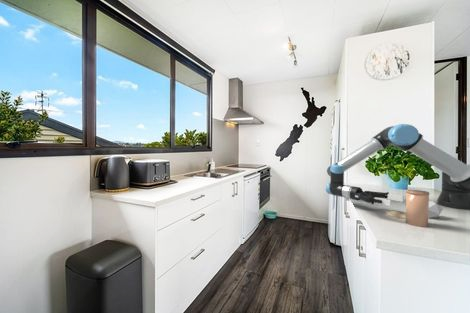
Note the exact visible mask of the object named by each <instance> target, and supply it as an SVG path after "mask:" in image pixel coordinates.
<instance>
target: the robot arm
mask: <svg viewBox="0 0 470 313" xmlns="http://www.w3.org/2000/svg"><path fill="white" fill-rule="evenodd" d="M392 146H395V147H396V148H398V149H400V150H401V151H403V152H410V153H412V154H414V155H415V156H416V157H418V158H420V159H421V160H423V161H424V162H427V163H428V164H430V165H431V166H433V167H435V168H436V169H438V170H440V172H441V191H440V194H439V196H438V197H437V200H436V204H437V205H439V206H444V207H448V208H453V209H458V210H459V209H460V210H461V209H462V210H470V164H466V163H465V162H462V161H461V160H460V159H458V158H456V157H454V156H452V155H451V154H449V153H447V152H446V151H445V150H442V149H440V148H439V147H437V146H436V145H434V144H433V143H431V142H429V141H427V140H425V139H424V136H423V134H421V133H419V129H417V127H415V126H414V125H412V124H407V123H402V124H401V123H399V124H397V125H391V126H388V127H386V128H385V129H383V130H381V131H380V132H379V133H378V132H377V134H375V135H374V136H372V137H371V138H370V140H369V141H368V142H367V143H365V144H364V145H362V146H360V147H359V148H357V149H356V150H354V151H353V152H351V153H350V154H348V155H346V156H345V157H343V158H341V159H339V161H337V162H335V163H334V164H331V165H329V166H328V167H327V169H326V172H327V175H328V176H329V178H330V182H328V183H326V186H325V191H326V193H327V194H328V195H332V196H335V197H336V196H337V197H341V198H346V199H347V200H349V199H351V200H354V201H363V202H365V203H368V204H371V205H375V204H378V205H383V206H387V207H391V206H392V201H395V202H396V201H397V202H401V203H404V195H403V196H402V195H398V194H393V193H392V194H391V193H390V192H388V191H387V192H384V191H383V192H382V191H371V190H364V191H363V189H362V188H361V187H359V186H353V185H348V184H345V183H344V181H345V180H344V179H345V172H346V171H347V170H350V169H351V168H353V167H354V166H356V165H357V164H359V163H361V162H362V161H364V160H366V159H367V158H369V157H370V156H372V155H374V154H375V153H377V152H378V151H380V150H381V151H382V150H385V149H386V148H388V147H392Z"/></svg>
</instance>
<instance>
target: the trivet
mask: <svg viewBox="0 0 470 313" xmlns="http://www.w3.org/2000/svg"><path fill="white" fill-rule="evenodd" d="M385 213H386V215H387V216H389V217H392V218H396V219H401V220H402V219H403V220H406V212H404V211H396V210H387V211H386V212H385Z"/></svg>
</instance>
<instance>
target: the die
mask: <svg viewBox="0 0 470 313" xmlns="http://www.w3.org/2000/svg"><path fill="white" fill-rule="evenodd" d="M442 211H443V208H442V207H441V205H440V204H438V203H437V202H435V201H433V200H429V210H428V219H437V218H439V216H440V215H441V214H442Z"/></svg>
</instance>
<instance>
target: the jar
mask: <svg viewBox="0 0 470 313" xmlns="http://www.w3.org/2000/svg"><path fill="white" fill-rule="evenodd" d="M405 193H406V194H405V195H406V196H405V197H406V198H405V199H406V202H405V206H406V207H405V213H406V219H405V224H408V225H410V226H414V227H418V228H419V227H420V228H428V227H429V218H428V210H429V201H430V191H425V190H421V189H406V190H405Z"/></svg>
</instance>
